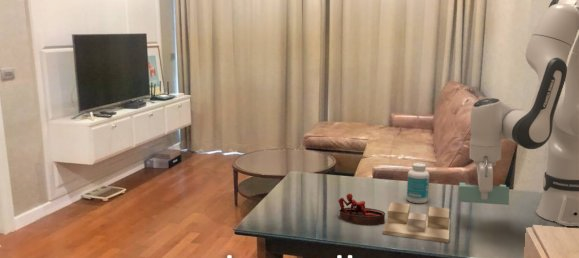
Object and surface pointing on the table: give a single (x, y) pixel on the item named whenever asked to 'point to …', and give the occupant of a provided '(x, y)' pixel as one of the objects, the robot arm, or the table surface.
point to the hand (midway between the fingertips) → (483, 196)
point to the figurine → (360, 213)
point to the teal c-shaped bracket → (474, 195)
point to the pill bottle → (418, 184)
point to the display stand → (418, 223)
